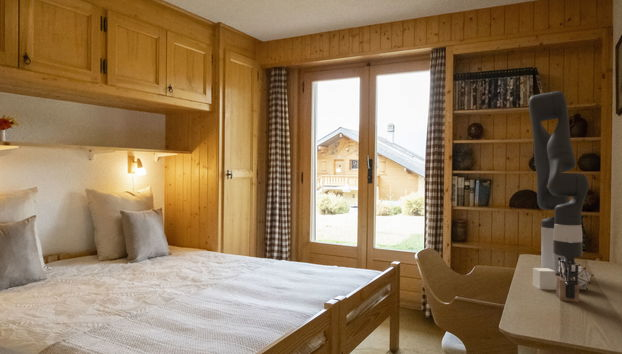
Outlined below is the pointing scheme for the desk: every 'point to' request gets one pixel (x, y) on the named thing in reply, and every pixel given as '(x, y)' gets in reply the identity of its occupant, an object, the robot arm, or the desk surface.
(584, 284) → the game die
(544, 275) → the white block
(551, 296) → the desk surface
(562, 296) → the walnut block
